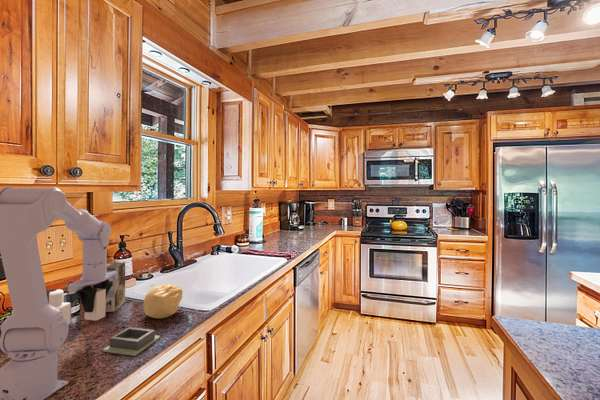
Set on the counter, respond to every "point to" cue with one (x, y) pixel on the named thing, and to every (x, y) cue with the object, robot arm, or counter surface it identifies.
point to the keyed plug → (98, 306)
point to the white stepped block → (59, 303)
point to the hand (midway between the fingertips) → (94, 309)
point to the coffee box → (116, 287)
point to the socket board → (131, 341)
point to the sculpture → (162, 301)
